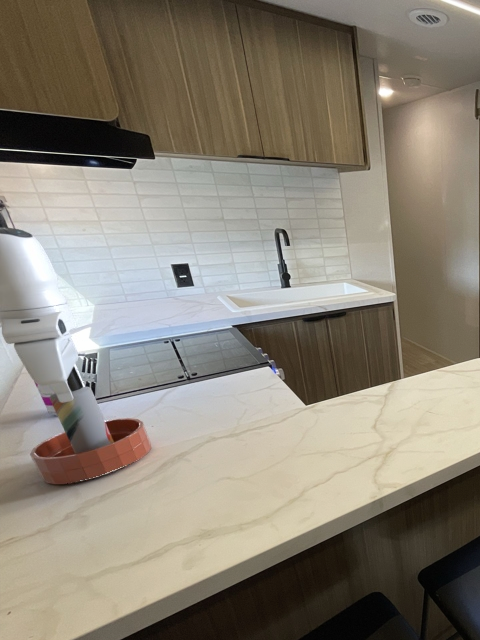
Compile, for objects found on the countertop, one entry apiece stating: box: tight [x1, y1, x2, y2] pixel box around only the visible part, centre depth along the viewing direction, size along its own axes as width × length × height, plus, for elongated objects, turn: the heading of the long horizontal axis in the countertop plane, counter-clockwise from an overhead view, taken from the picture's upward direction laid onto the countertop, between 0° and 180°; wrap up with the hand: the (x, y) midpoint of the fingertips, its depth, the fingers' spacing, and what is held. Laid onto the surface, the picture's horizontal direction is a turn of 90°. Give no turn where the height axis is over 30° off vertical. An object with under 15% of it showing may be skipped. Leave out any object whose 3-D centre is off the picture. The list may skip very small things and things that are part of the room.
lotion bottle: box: [50, 366, 114, 454], centre depth 78 cm, size 6×6×20 cm
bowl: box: [29, 417, 152, 485], centre depth 81 cm, size 16×16×6 cm
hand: (70, 393), depth 77 cm, fingers open, 8 cm apart
